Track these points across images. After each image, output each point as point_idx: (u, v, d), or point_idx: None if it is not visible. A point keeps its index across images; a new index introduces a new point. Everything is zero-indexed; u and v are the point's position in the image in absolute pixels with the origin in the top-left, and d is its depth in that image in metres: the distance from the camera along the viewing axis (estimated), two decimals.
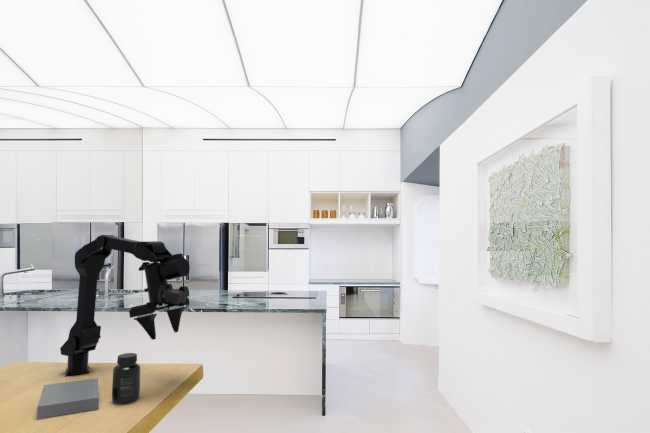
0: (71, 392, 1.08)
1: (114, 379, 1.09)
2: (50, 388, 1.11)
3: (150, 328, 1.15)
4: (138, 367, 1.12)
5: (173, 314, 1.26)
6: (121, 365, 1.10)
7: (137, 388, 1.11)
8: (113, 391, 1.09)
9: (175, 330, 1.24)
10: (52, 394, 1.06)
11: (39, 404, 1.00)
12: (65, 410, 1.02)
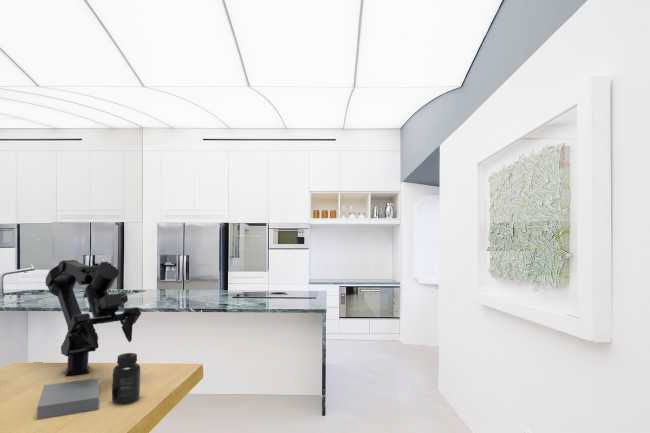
0: (71, 392, 1.08)
1: (114, 379, 1.09)
2: (50, 388, 1.11)
3: (90, 337, 1.14)
4: (138, 367, 1.12)
5: (125, 326, 1.24)
6: (121, 365, 1.10)
7: (137, 388, 1.11)
8: (113, 391, 1.09)
9: (129, 339, 1.21)
10: (52, 394, 1.06)
11: (39, 404, 1.00)
12: (65, 410, 1.02)
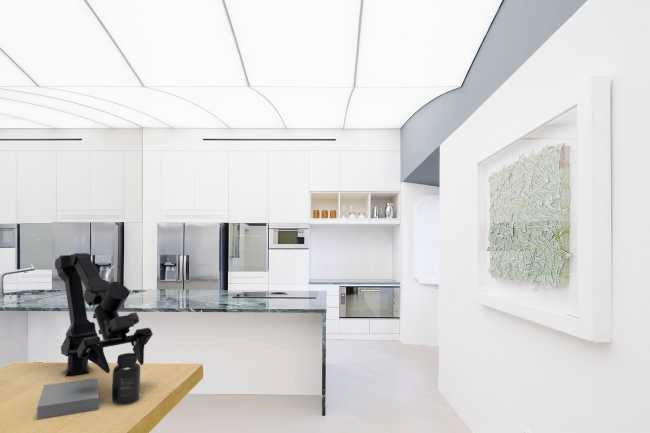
0: (71, 392, 1.08)
1: (114, 379, 1.09)
2: (50, 388, 1.11)
3: (101, 361, 1.09)
4: (138, 367, 1.12)
5: (136, 348, 1.19)
6: (121, 365, 1.10)
7: (137, 388, 1.11)
8: (113, 391, 1.09)
9: (140, 362, 1.16)
10: (52, 394, 1.06)
11: (39, 404, 1.00)
12: (65, 410, 1.02)
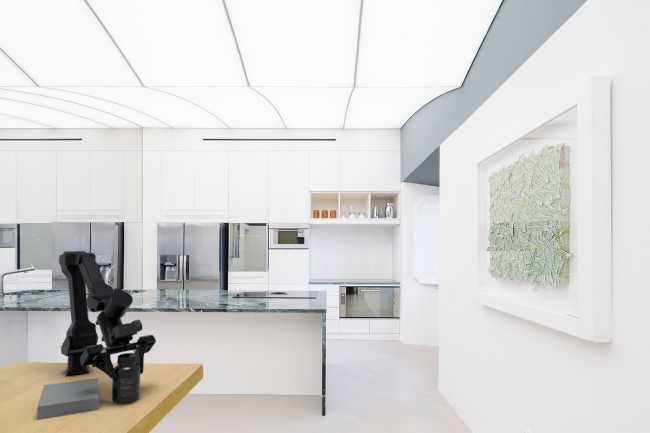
0: (71, 392, 1.08)
1: None
2: (50, 388, 1.11)
3: (108, 369, 1.09)
4: (138, 367, 1.12)
5: None
6: (121, 365, 1.10)
7: (137, 388, 1.11)
8: (113, 391, 1.09)
9: (140, 371, 1.14)
10: (52, 394, 1.06)
11: (39, 404, 1.00)
12: (65, 410, 1.02)
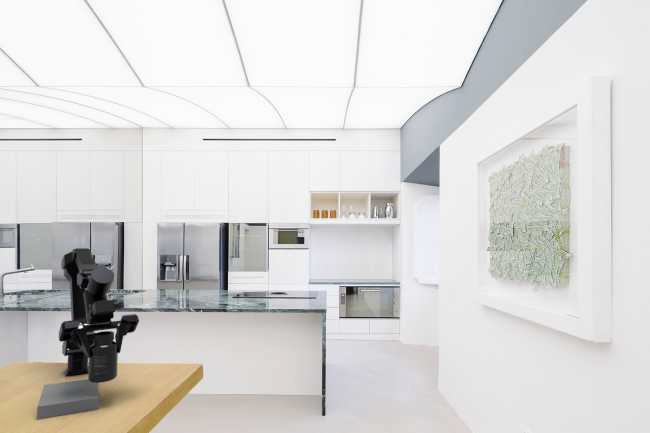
0: (71, 392, 1.08)
1: None
2: (50, 388, 1.11)
3: (83, 345, 1.07)
4: (114, 346, 1.09)
5: (117, 335, 1.14)
6: (96, 343, 1.07)
7: (112, 367, 1.08)
8: (88, 369, 1.07)
9: (118, 350, 1.11)
10: (52, 394, 1.06)
11: (39, 404, 1.00)
12: (65, 410, 1.02)
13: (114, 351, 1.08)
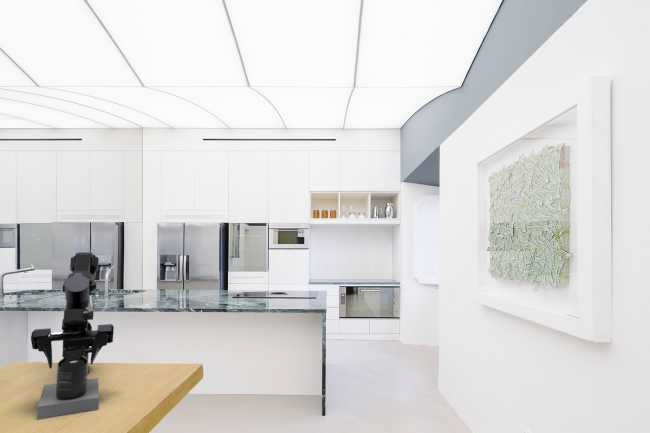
0: None
1: (57, 371, 1.05)
2: (50, 388, 1.11)
3: (46, 355, 1.04)
4: (81, 362, 1.06)
5: None
6: (63, 358, 1.05)
7: (77, 384, 1.04)
8: None
9: None
10: (52, 394, 1.06)
11: (39, 404, 1.00)
12: (65, 410, 1.02)
13: (81, 368, 1.05)
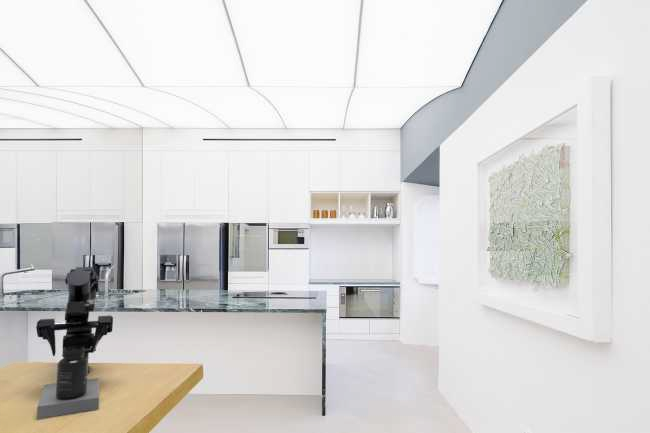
0: None
1: (57, 371, 1.05)
2: (50, 388, 1.11)
3: (50, 343, 1.13)
4: (81, 362, 1.06)
5: None
6: (63, 358, 1.05)
7: (77, 384, 1.04)
8: None
9: (91, 350, 1.16)
10: (52, 394, 1.06)
11: (39, 404, 1.00)
12: (65, 410, 1.02)
13: (81, 368, 1.05)
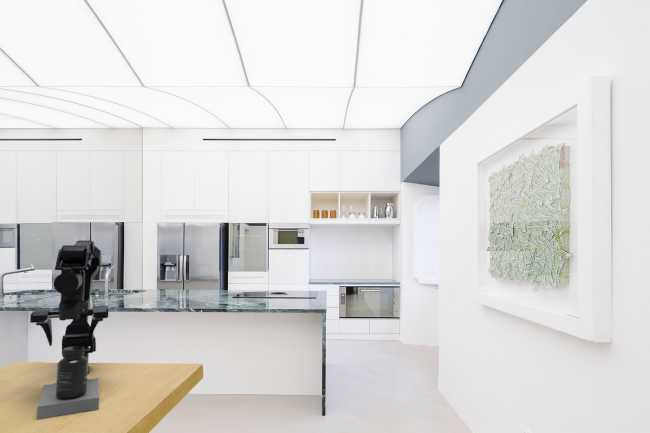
0: None
1: (57, 371, 1.05)
2: (50, 388, 1.11)
3: None
4: (81, 362, 1.06)
5: None
6: (63, 358, 1.05)
7: (77, 384, 1.04)
8: None
9: (87, 340, 1.19)
10: (52, 394, 1.06)
11: (39, 404, 1.00)
12: (65, 410, 1.02)
13: (81, 368, 1.05)
